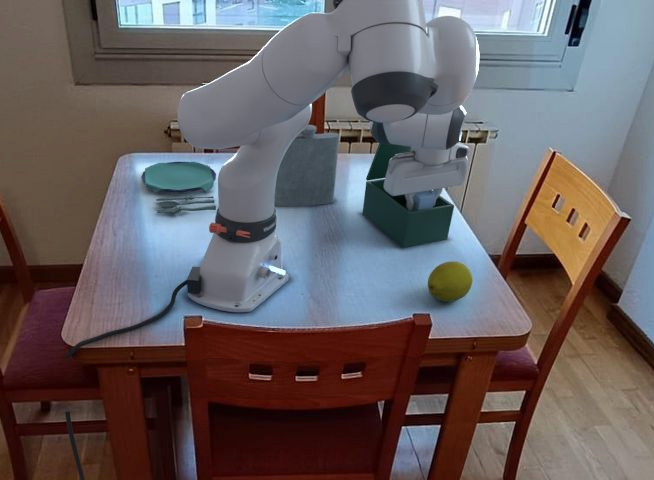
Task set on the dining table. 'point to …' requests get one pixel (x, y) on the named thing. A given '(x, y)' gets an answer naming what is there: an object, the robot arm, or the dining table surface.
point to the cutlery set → (179, 183)
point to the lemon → (450, 281)
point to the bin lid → (384, 160)
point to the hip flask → (308, 170)
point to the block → (423, 200)
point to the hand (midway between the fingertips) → (420, 206)
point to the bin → (406, 216)
